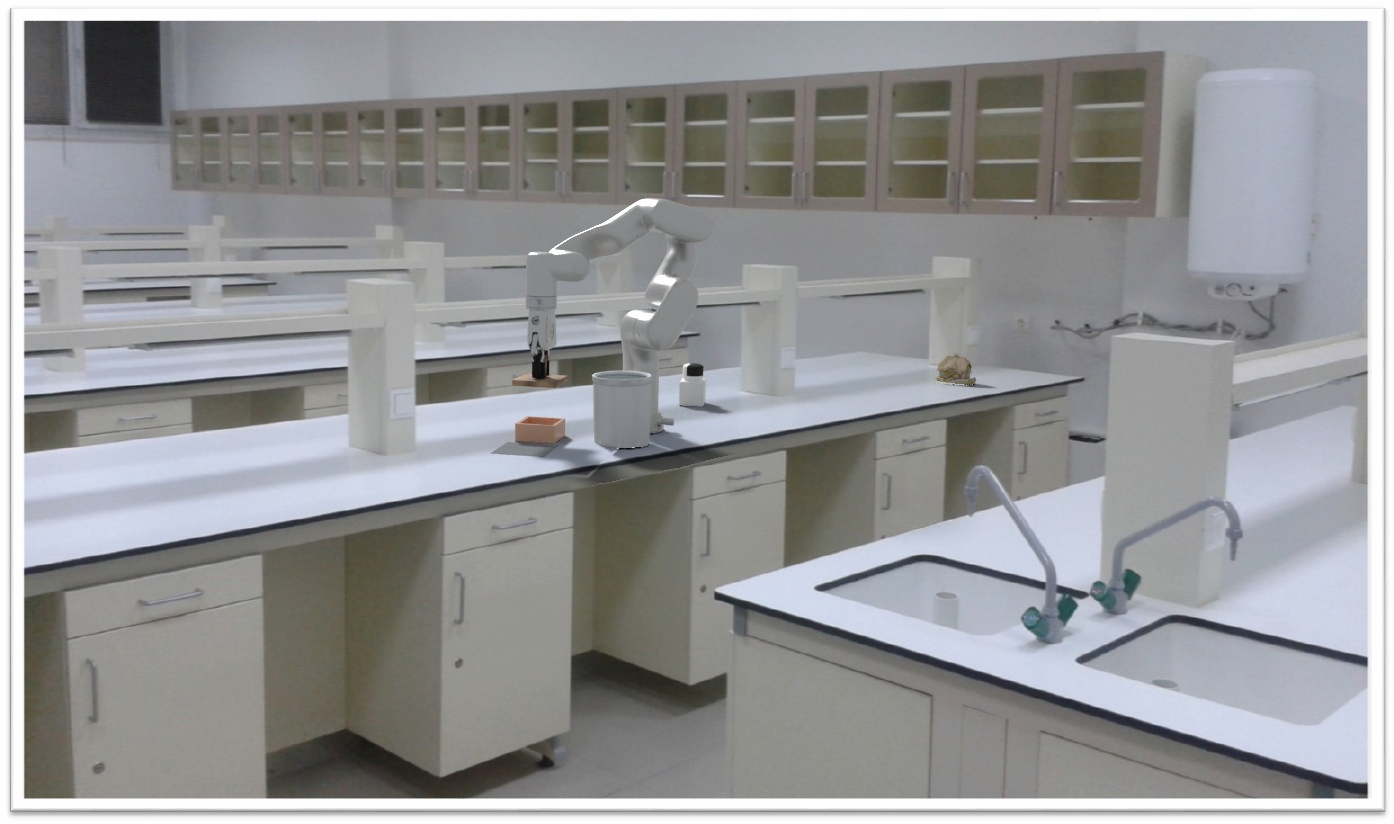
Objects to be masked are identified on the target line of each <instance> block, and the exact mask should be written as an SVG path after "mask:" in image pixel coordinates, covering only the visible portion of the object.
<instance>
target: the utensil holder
mask: <svg viewBox="0 0 1394 824" xmlns="http://www.w3.org/2000/svg"><path fill="white" fill-rule="evenodd" d="M591 379H592V398H593V399H592V401H593V402H592V403H593V405H592V406H593V407H592V409H593V411H592V412H593V439H594V440H593V441H594V443H595V444H596V445H599V446H603V447H607V448H608V447H609V448H632V447H641V448H645V447H647V446H648V445H649V443H650V434H649V433H650V398H651V381H652V375H651V374H649V373H646V372H639V371H623V370H606V371H599V372H595V373H593V374H592V375H591ZM644 446H645V447H644Z"/></svg>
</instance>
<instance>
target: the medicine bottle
mask: <svg viewBox="0 0 1394 824" xmlns="http://www.w3.org/2000/svg"><path fill="white" fill-rule="evenodd" d="M706 383H707V379H705V378H704V365H702V364H701V363H696V362H692V363H691V362H689V363H685V364H683V365H682V378H681V380H680V381H679V383H678V384H679V385H678V387H679V391H678V406H679V405H682V406H681V407H700V408H701V407H704V406H705V403H706V388H707V387H706V386H707V384H706Z"/></svg>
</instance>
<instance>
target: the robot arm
mask: <svg viewBox="0 0 1394 824" xmlns="http://www.w3.org/2000/svg"><path fill="white" fill-rule="evenodd" d="M715 231H716V223H715V220H714V217H713V216H712V215H711V214H710V213H709V212H707V211H705V210H703V209H700V208H696V207H693V206H689V205H686V204H682V203H680V202H677V201H674V200H670V199H667V198H666V199H665V198H657V197H656V198H654V197H646V198H642V199H639V200H638V201H636V202H634V203H632V204H631V205H629V206H628V207H626V208H625V209H623V210H622V211H620V212H619V213H617V214H615V215H614V216H613V217H611V218H609V219H608V220H606V221H605V222H603V223H601V224H599V225H595V226H594V227H591V228H589V229H587V230H584V231H582V232H580V233H577V234H575V235H573V236H571V237H569V238H567V239H566V240H564V241H562V242H561V243H559V244H558V245H556V246H554V247H553V248H552V249H550V250H549V251H532V252H529V253H527V255H526V257H525V259H526V260H525V261H526V262H525V309H526V310H528V319H527V348H528V350H530V354H531V374H532V378H541V379H544V378H545V362H544V355H547V376H549V375H550V353H551V352H550V350H551V349H552V348H555V347H556V346H557V321H556V320H557V319H556V310H557V308H558V307H557V306H558V305H557V304H558V303H557V302H558V282H566V283H580V282H582V281H584V280H585V279H587V278H588V277H589V274H590V272H591V271H592V270H591V268H592V266H591V262H590V261H591V260H594V259H597V258H601V257H606V256H607V257H608V256H613V255H616V254H619V253H622V252H624V251H626V249H628V248H630V247H631V246H633V245H634V244H636V243H637V242H639V241H640V240H642V239H643V238H645V237H646V236H648V235H649V234H651V233H662V234H664V237H665V239H666V240H665V241H666V248H667V249H666V254H665V255H664V258H663V260H662V262H661V264H660V266H659V267H658V269H657V271H656V272H655V274H654V276H653V277H652V278H651V280H650V282H649V284H648V285H647V287H646V290H645V293H644V299H645V302H646V305H648V306H649V307H650V308H651V309H652V310H646V309H641V308H639V309H633V310H631V311H629V312H627V313H626V314H625V315H624V316H623V318H622V319H621V322H620V326H619V327H620V328H619V333H620V335H619V336H620V341H621V348H622V371H639V372H646V373H649V374H651V375H652V381H651V398H650V433H649V435H651V433H652V434H657V433H661V432H663V431H664V427H665V426H672V427H673V426H674V425H675V418H674V417H669V416H668V417H666V416H662V411H659V397H660V395H659V393H660V387H659V386H660V357H659V352H663V351H667V350H669V349H670V348H671V347H673V346H674V345H675V343H676V342H677V341H678V339H679V338H680V336H681V334H682V333H683V332H684V329H685V328H686V326H687V325H688V323H689V322H690V319H691V318H692V316H693V314H694V312H695V311H696V308H697V306H698V303H699V302H698V301H699V290H698V288H697V286H696V285H695V283H694V282H693V281H692V280H691V279H692V276H693V274H694V273H695V270H696V268H697V264H698V252H697V250H698V249H697V245H698V244H699V245H700V244H704V243H708V242H709V241H710V240H711V239H712V238H713V236H714V235H715ZM696 244H697V245H696ZM653 309H654V310H655V311H653ZM535 316H539V317H535Z"/></svg>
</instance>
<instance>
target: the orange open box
mask: <svg viewBox="0 0 1394 824" xmlns="http://www.w3.org/2000/svg"><path fill="white" fill-rule="evenodd" d="M514 436H515V437H514V441H515V442H517V443H532V444H548V445H556V443H557V442H559V441H560V440H561V439H563V438H565V437H566V418H564V417H561V418H560V417H549V416H548V417H546V416H545V417H544V416H531V415H527V416H525V417H524V418H522V419H520V420H519V421H517V422H515V423H514Z"/></svg>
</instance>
